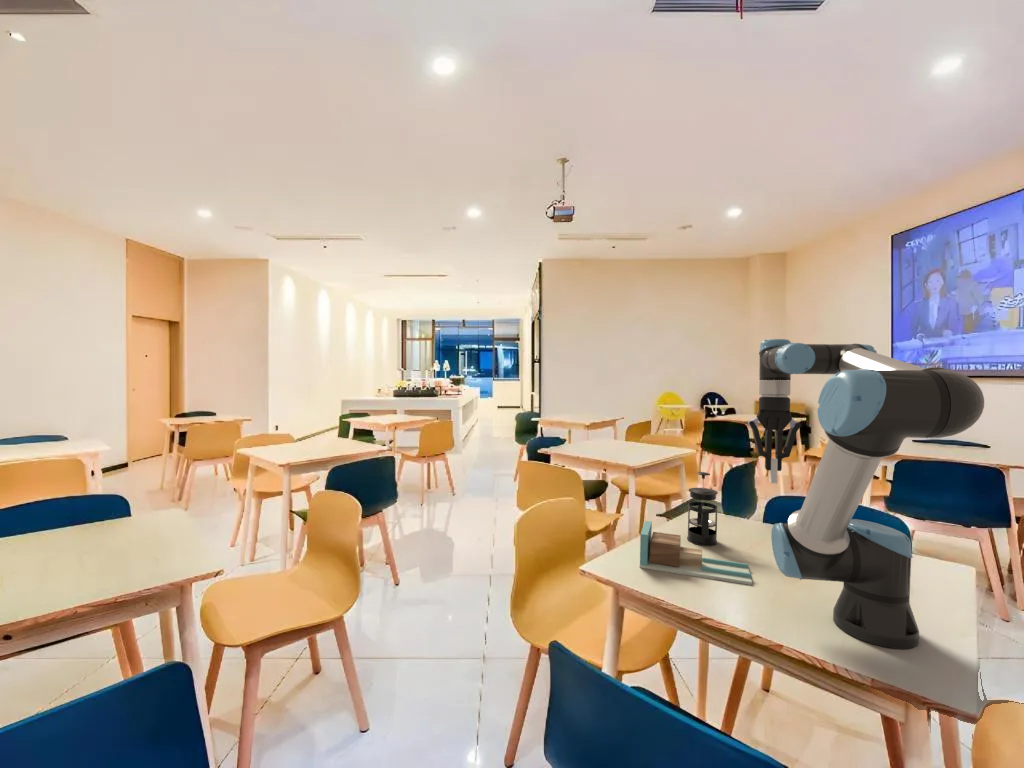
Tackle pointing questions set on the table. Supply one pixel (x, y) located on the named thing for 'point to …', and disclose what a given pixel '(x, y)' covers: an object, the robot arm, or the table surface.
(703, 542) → the french press
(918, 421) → the robot arm
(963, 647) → the table surface
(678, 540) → the block
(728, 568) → the railed board with endplate
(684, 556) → the light wood bar
